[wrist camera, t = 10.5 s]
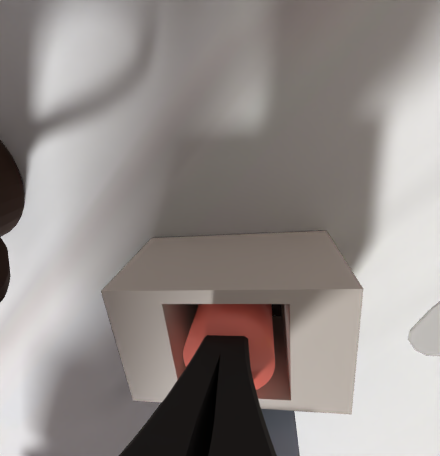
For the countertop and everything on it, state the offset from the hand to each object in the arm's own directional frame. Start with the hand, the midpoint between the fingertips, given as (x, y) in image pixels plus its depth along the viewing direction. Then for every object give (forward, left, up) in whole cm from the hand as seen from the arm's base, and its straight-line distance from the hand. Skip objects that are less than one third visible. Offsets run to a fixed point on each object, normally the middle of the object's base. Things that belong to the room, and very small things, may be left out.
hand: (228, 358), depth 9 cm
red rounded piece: (0, 0, -3) cm, 3 cm away
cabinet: (0, 0, -5) cm, 5 cm away
